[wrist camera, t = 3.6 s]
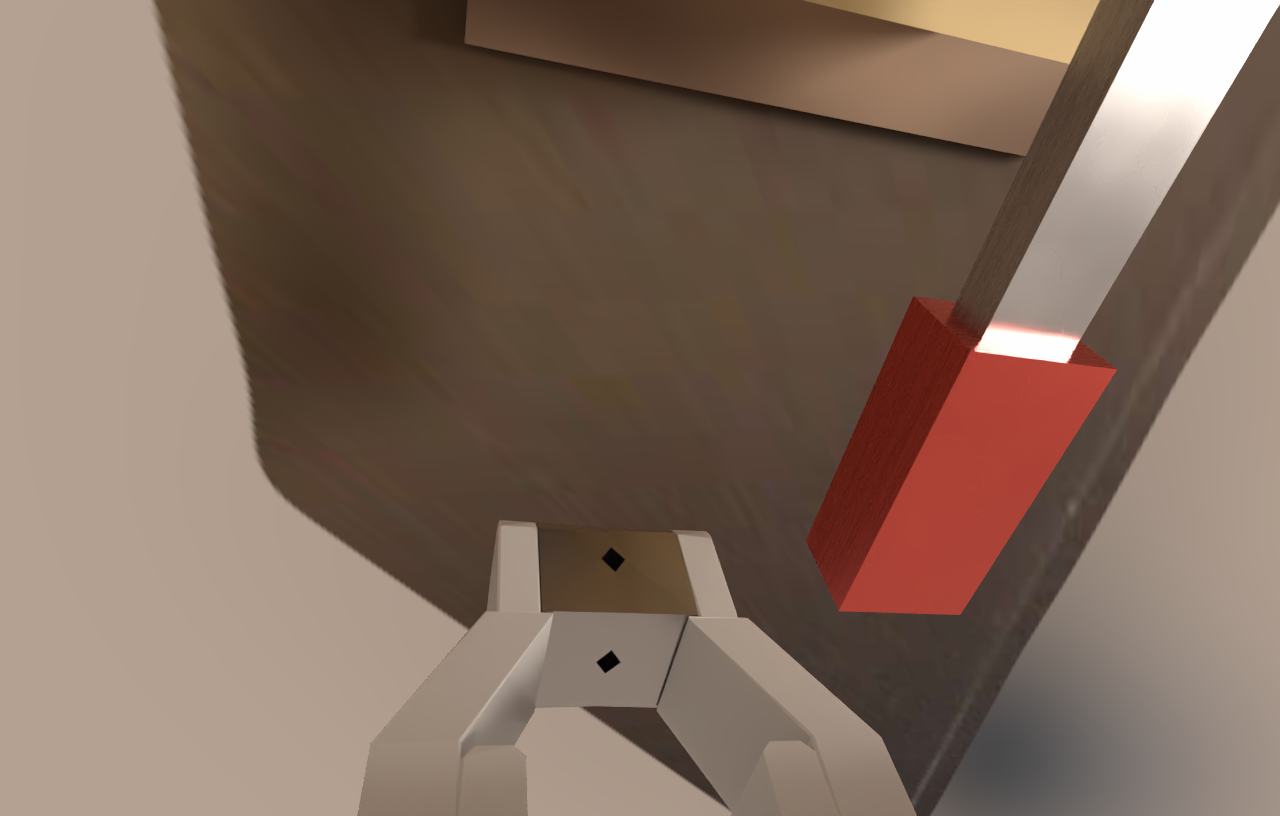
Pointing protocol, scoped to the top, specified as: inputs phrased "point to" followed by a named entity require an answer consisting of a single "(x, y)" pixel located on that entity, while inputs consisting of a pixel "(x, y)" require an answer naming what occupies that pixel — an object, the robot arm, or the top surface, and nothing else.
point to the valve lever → (1023, 315)
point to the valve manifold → (822, 54)
